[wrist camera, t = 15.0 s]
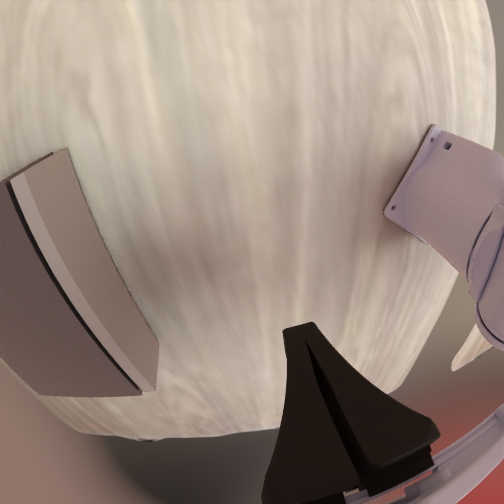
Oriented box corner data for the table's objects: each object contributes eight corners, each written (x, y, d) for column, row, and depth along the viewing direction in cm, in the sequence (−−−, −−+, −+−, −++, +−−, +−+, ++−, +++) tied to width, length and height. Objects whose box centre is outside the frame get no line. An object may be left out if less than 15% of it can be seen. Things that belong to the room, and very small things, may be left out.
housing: (52, 355, 25) (39, 394, 20) (-39, 211, 14) (-74, 244, 9) (147, 344, 25) (142, 395, 20) (52, 151, 14) (3, 179, 9)
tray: (70, 353, 25) (58, 393, 20) (-24, 202, 14) (-61, 233, 9) (159, 343, 25) (155, 391, 21) (67, 147, 14) (23, 171, 10)
